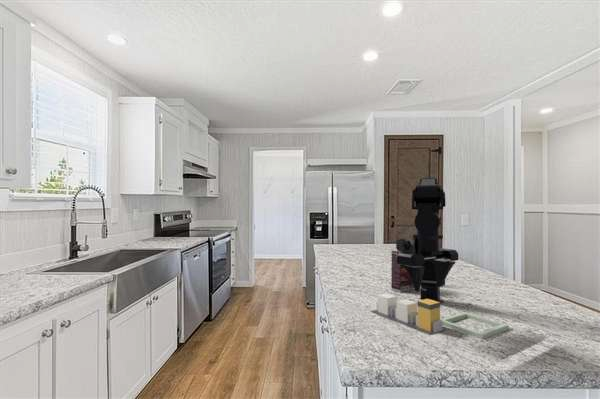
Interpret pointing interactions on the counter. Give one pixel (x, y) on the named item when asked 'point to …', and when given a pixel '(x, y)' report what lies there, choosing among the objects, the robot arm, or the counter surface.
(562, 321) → the counter surface
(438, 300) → the robot arm
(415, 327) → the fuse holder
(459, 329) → the tray
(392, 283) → the supplement box
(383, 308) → the block
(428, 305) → the block
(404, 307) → the block
